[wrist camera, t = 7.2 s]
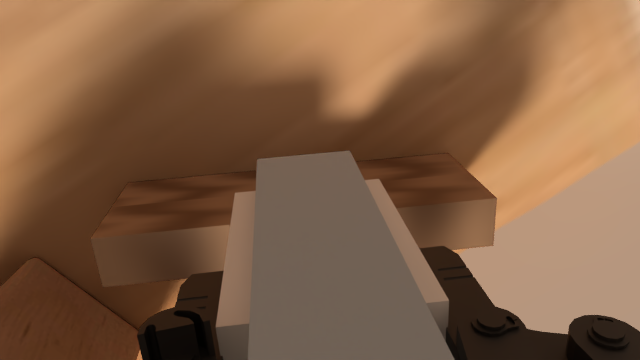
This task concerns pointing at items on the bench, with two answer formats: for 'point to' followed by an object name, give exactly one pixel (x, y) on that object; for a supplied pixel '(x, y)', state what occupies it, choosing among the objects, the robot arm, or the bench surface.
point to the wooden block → (58, 320)
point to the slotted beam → (219, 190)
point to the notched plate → (330, 270)
